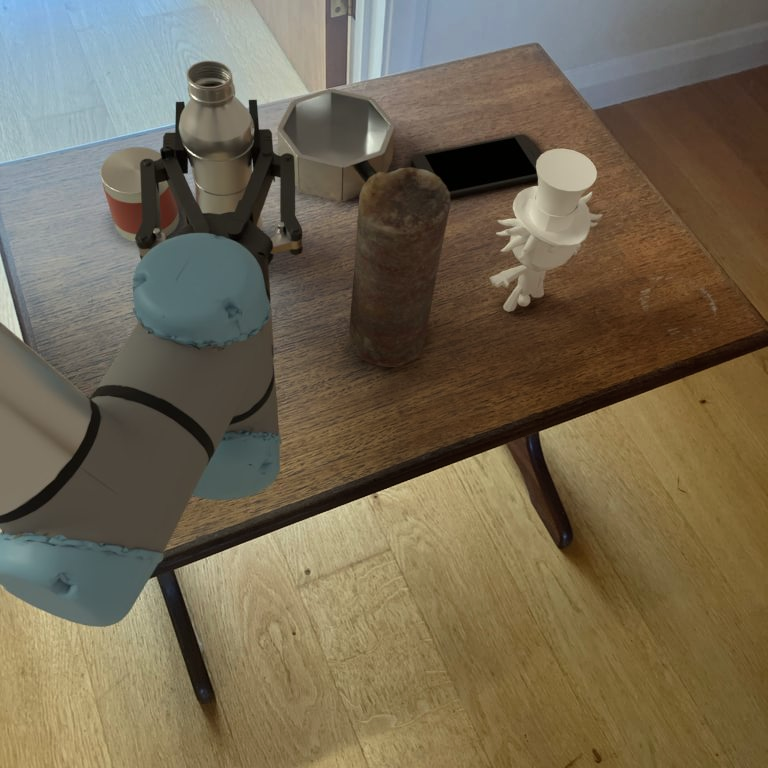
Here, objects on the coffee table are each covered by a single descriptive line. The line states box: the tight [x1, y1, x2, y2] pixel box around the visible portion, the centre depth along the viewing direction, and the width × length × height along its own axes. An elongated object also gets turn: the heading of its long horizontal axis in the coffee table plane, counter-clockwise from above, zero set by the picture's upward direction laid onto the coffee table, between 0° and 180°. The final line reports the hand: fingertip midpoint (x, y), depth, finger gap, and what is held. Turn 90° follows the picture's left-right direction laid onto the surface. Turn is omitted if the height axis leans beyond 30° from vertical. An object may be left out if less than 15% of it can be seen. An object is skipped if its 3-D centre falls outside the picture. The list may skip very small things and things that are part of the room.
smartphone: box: [410, 134, 542, 199], centre depth 94 cm, size 7×15×1 cm, turn 109°
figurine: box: [489, 148, 604, 313], centre depth 76 cm, size 10×8×18 cm
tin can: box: [100, 146, 180, 243], centre depth 84 cm, size 7×7×7 cm
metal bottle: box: [179, 60, 263, 231], centre depth 75 cm, size 6×7×20 cm
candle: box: [348, 166, 452, 368], centre depth 71 cm, size 8×7×20 cm
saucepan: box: [276, 88, 396, 203], centre depth 90 cm, size 18×12×5 cm, turn 30°
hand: (218, 113), depth 76 cm, fingers closed on metal bottle, 6 cm apart
